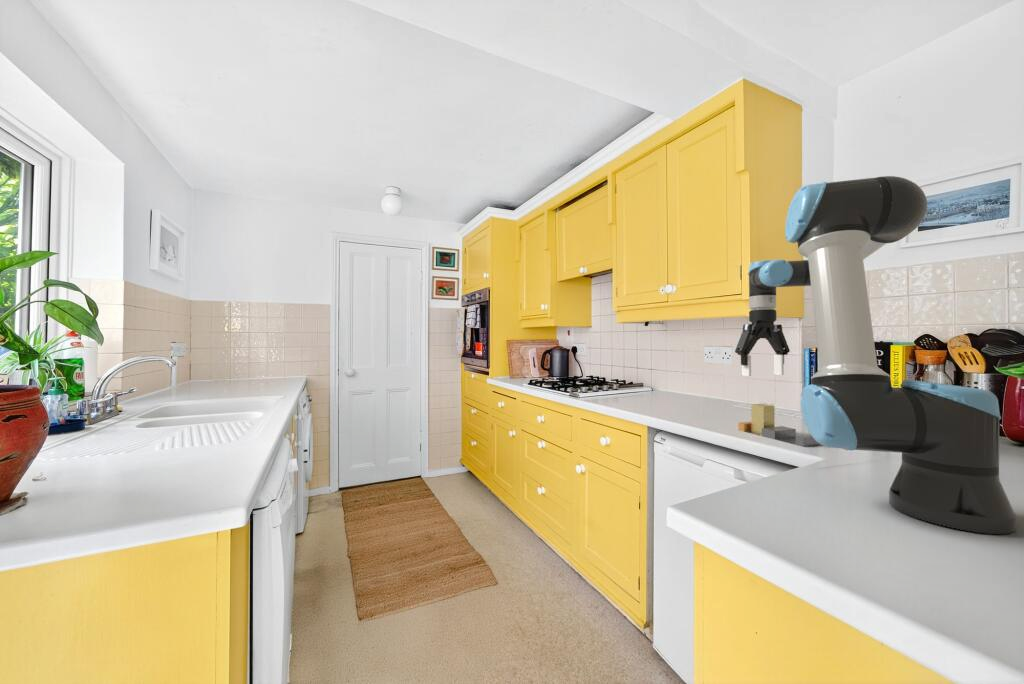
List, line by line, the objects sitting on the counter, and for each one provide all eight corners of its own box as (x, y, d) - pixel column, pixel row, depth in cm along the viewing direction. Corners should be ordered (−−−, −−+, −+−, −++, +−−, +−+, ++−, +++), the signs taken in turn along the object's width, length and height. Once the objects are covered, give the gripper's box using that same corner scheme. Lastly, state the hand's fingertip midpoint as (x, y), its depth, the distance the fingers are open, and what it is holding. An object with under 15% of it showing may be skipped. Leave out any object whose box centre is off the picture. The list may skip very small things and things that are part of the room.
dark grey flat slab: (803, 448, 114) (803, 437, 114) (738, 431, 135) (738, 422, 135) (825, 445, 116) (825, 435, 116) (758, 429, 137) (758, 420, 137)
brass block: (763, 434, 128) (763, 406, 128) (751, 431, 132) (751, 404, 132) (774, 433, 129) (774, 405, 129) (761, 430, 133) (761, 403, 133)
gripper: (742, 307, 123) (742, 377, 123) (802, 309, 131) (802, 374, 130) (722, 309, 130) (722, 375, 130) (780, 311, 138) (781, 373, 138)
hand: (762, 375), depth 130 cm, fingers open, 13 cm apart
